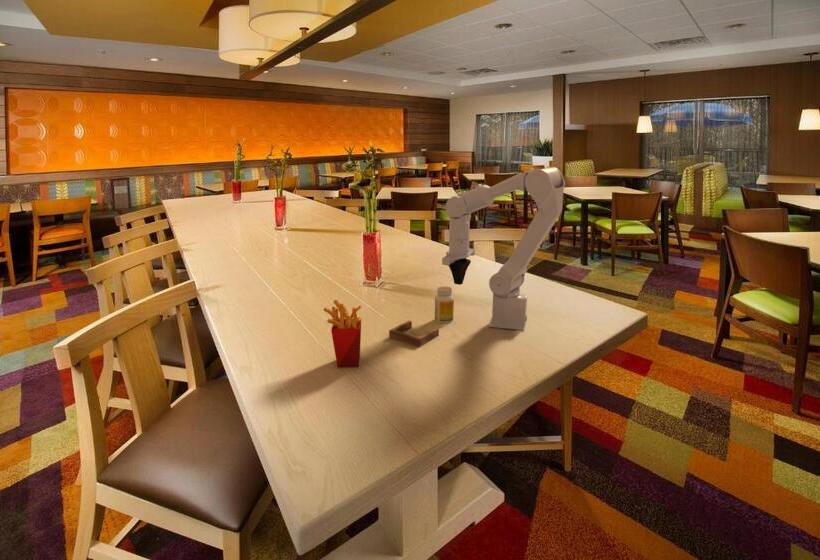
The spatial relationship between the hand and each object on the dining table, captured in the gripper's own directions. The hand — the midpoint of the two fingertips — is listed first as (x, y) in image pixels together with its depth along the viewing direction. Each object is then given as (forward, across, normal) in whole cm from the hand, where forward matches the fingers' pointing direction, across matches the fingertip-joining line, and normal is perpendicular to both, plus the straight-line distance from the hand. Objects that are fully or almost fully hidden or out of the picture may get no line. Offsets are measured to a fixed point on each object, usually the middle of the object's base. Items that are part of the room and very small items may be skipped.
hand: (458, 283), depth 141 cm
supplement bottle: (+9, +8, 0) cm, 12 cm away
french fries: (+9, +44, -4) cm, 45 cm away
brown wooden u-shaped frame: (+9, +22, 0) cm, 24 cm away
